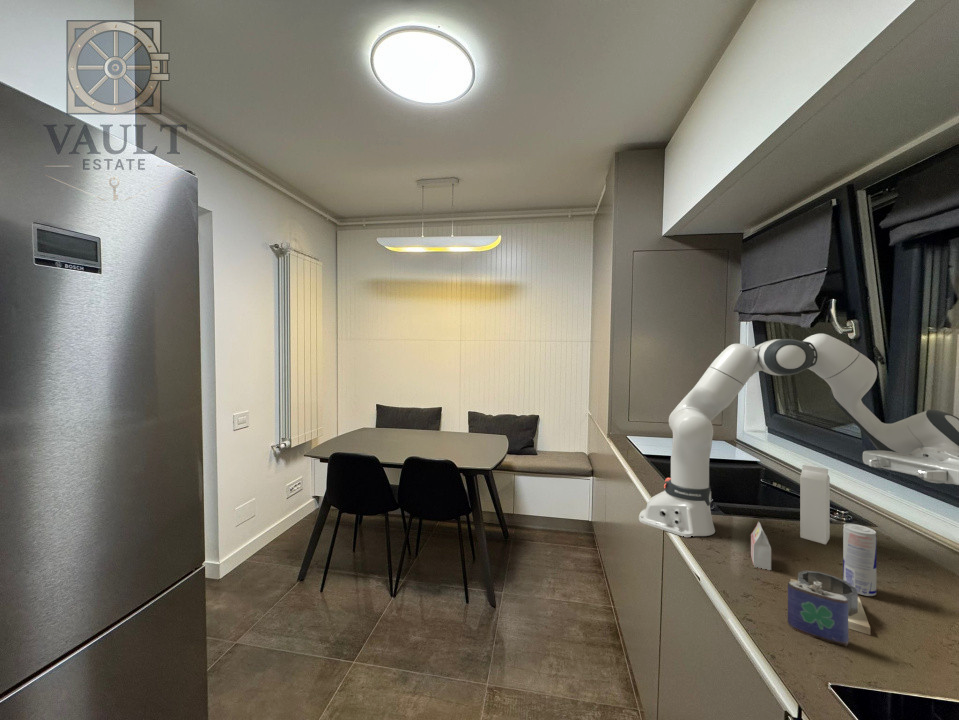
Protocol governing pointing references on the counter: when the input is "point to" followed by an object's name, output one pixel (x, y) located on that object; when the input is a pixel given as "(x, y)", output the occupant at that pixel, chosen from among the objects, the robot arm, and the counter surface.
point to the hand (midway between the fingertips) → (896, 469)
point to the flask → (818, 612)
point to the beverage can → (860, 558)
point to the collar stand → (839, 586)
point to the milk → (815, 504)
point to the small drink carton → (760, 548)
